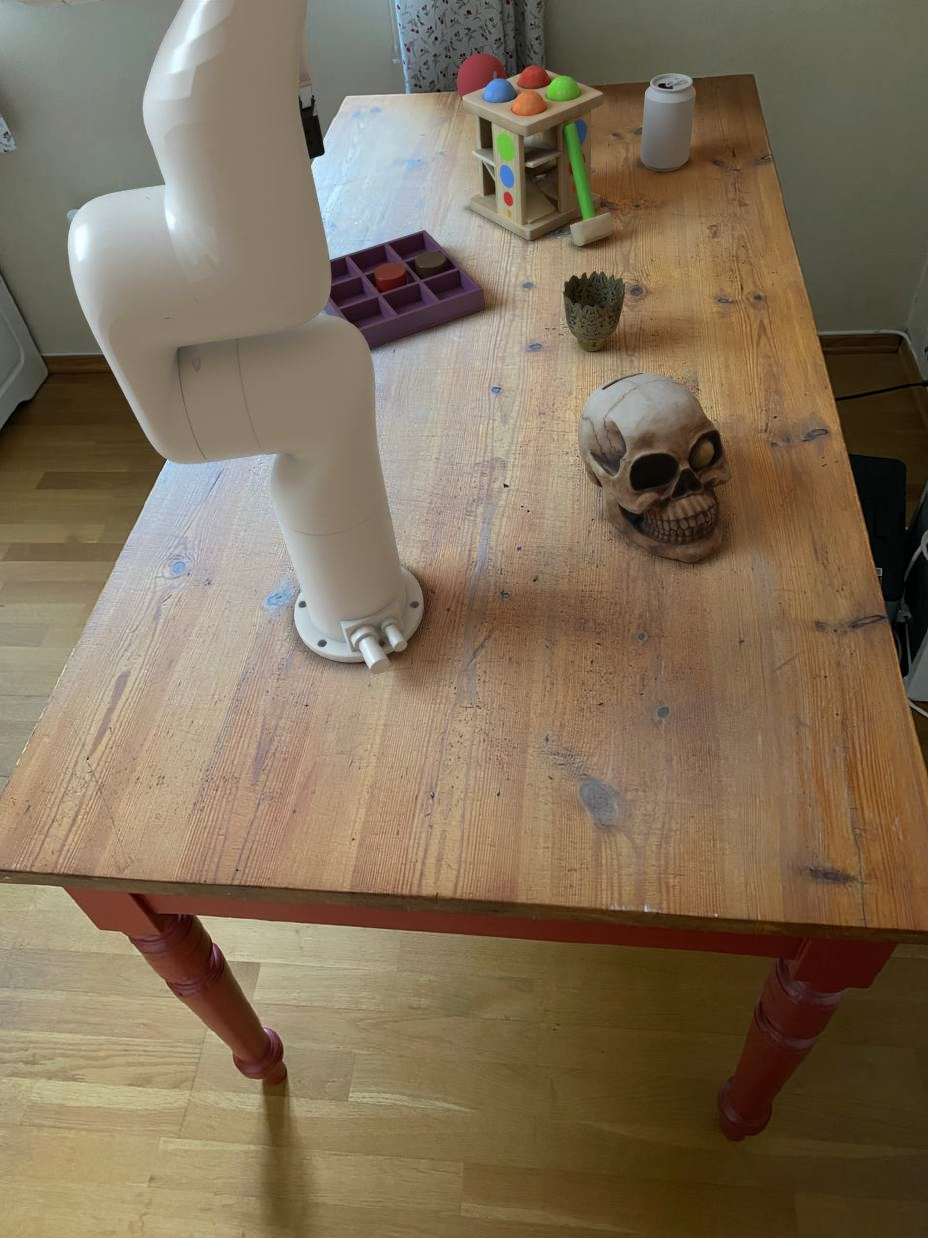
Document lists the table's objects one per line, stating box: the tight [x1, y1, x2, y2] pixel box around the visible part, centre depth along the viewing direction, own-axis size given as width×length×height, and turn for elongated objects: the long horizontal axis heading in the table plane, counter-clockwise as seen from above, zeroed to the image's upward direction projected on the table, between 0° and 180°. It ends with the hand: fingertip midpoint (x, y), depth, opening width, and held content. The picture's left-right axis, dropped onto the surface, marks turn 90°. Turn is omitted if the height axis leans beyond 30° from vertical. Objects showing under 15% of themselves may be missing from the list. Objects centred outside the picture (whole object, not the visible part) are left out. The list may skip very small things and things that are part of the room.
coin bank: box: [577, 372, 733, 563], centre depth 90 cm, size 16×17×13 cm
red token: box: [374, 263, 407, 293], centre depth 120 cm, size 4×4×3 cm
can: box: [639, 72, 697, 173], centre depth 136 cm, size 8×8×12 cm
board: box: [323, 229, 485, 349], centre depth 121 cm, size 19×19×3 cm
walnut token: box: [415, 251, 447, 280], centre depth 122 cm, size 4×4×3 cm
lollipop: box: [456, 52, 507, 102], centre depth 141 cm, size 8×8×15 cm
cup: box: [562, 270, 626, 352], centre depth 109 cm, size 8×7×8 cm
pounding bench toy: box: [462, 65, 615, 247], centre depth 126 cm, size 23×14×18 cm, turn 38°
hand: (294, 140), depth 95 cm, fingers open, 9 cm apart
